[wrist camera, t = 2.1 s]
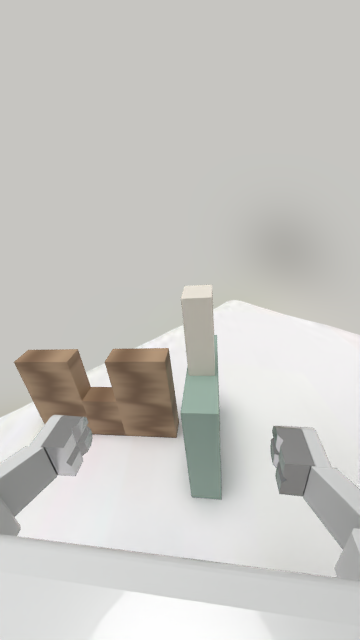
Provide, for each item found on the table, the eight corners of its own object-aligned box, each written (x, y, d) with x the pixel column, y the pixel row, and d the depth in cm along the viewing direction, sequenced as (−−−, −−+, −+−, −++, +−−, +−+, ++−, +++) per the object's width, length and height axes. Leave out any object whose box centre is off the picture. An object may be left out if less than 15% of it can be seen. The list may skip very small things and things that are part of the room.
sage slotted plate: (219, 407, 35) (214, 270, 26) (221, 499, 25) (215, 324, 16) (198, 406, 36) (186, 272, 27) (191, 497, 25) (168, 325, 16)
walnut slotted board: (178, 421, 34) (168, 348, 28) (176, 437, 31) (164, 361, 26) (58, 417, 36) (28, 349, 31) (48, 432, 34) (13, 362, 29)
